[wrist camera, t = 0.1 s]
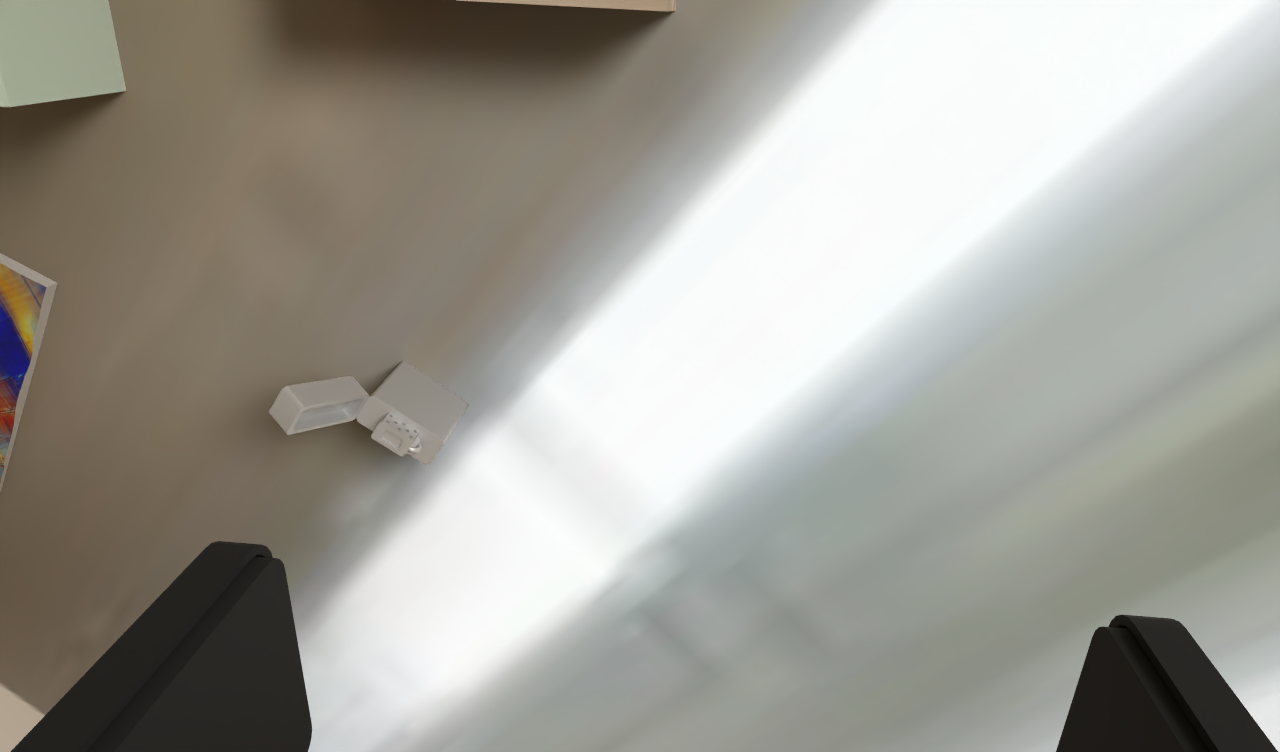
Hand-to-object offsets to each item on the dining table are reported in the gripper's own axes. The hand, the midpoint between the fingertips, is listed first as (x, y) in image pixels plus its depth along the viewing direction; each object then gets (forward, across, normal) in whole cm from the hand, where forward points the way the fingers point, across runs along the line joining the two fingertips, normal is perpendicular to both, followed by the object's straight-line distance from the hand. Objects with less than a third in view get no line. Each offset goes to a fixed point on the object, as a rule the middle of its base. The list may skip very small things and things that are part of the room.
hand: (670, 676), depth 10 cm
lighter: (+32, +15, +11) cm, 37 cm away
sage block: (+31, +30, -5) cm, 44 cm away
